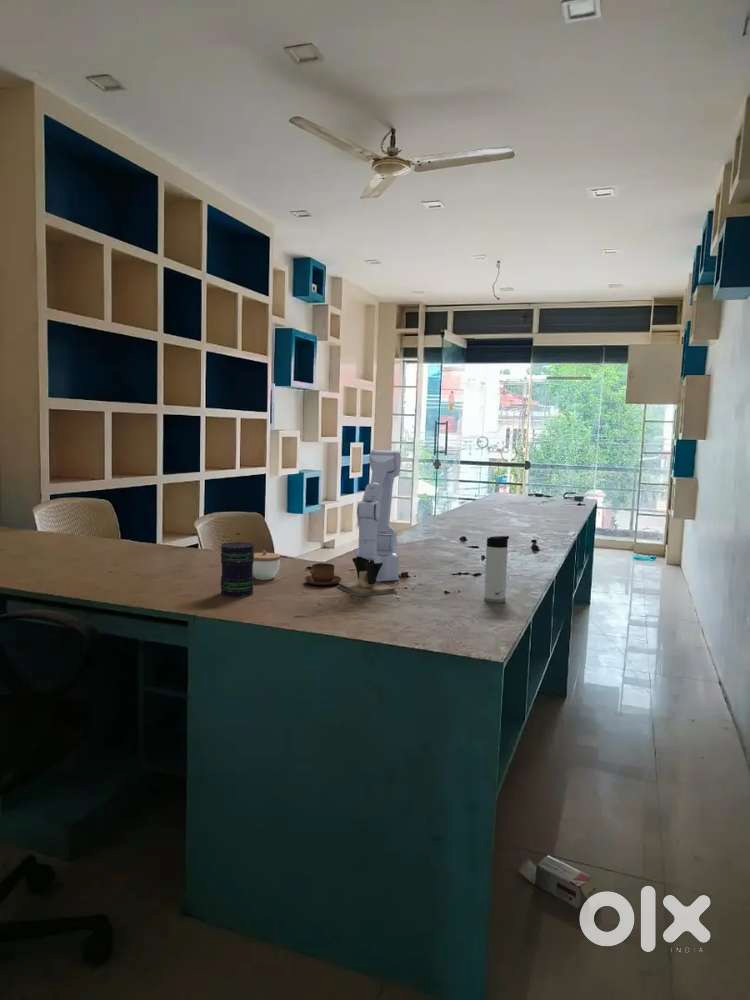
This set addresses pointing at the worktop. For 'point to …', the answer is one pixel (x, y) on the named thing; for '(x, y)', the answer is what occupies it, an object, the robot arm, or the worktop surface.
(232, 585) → the storage jar
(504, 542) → the travel mug
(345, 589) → the mat
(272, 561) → the lidded jar
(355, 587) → the lid
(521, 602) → the worktop surface
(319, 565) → the cup and saucer
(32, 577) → the worktop surface
